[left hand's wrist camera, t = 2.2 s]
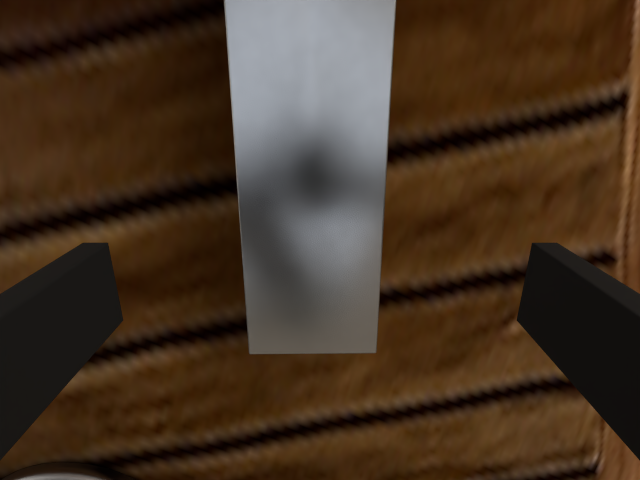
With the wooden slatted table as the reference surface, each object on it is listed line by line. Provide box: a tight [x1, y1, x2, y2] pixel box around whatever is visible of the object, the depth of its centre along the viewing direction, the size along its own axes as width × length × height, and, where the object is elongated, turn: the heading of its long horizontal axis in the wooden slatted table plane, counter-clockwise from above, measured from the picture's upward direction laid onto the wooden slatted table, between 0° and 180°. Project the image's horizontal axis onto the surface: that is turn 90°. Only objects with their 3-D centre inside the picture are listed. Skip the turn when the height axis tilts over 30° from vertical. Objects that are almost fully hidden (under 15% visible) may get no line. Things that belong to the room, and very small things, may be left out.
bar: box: [224, 0, 396, 354], centre depth 15 cm, size 21×5×8 cm, turn 0°
